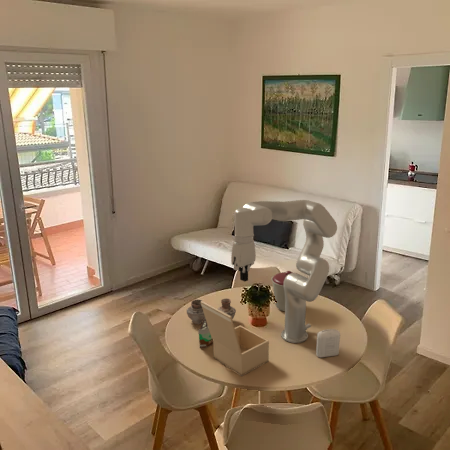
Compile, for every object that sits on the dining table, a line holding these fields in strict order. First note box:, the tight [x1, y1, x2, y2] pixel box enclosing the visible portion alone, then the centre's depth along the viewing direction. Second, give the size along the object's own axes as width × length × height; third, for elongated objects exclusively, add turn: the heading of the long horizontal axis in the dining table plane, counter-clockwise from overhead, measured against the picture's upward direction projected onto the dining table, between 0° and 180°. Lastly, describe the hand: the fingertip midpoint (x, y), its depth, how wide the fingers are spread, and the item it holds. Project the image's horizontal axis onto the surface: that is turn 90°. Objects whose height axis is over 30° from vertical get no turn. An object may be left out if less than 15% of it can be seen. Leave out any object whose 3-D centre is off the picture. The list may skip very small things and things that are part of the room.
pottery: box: [186, 298, 237, 325], centre depth 235 cm, size 11×25×12 cm, turn 87°
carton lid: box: [201, 300, 242, 356], centre depth 191 cm, size 20×18×1 cm
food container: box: [198, 318, 213, 349], centre depth 216 cm, size 12×6×10 cm, turn 168°
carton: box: [212, 325, 270, 377], centre depth 203 cm, size 16×18×10 cm
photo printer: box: [315, 328, 341, 358], centre depth 205 cm, size 10×4×12 cm, turn 103°
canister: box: [271, 270, 301, 312], centre depth 247 cm, size 18×18×21 cm
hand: (244, 280), depth 194 cm, fingers closed
